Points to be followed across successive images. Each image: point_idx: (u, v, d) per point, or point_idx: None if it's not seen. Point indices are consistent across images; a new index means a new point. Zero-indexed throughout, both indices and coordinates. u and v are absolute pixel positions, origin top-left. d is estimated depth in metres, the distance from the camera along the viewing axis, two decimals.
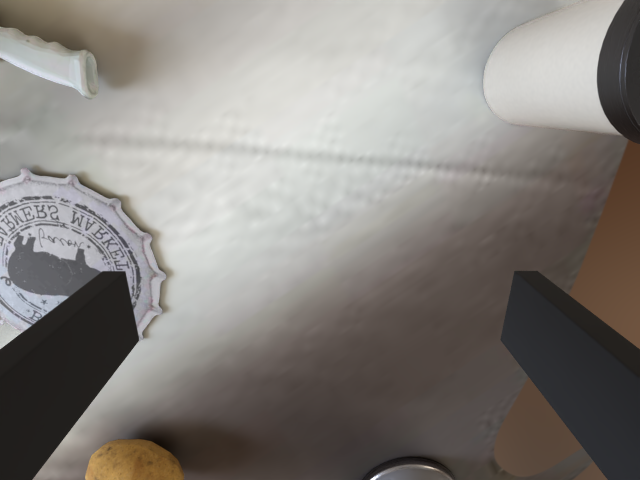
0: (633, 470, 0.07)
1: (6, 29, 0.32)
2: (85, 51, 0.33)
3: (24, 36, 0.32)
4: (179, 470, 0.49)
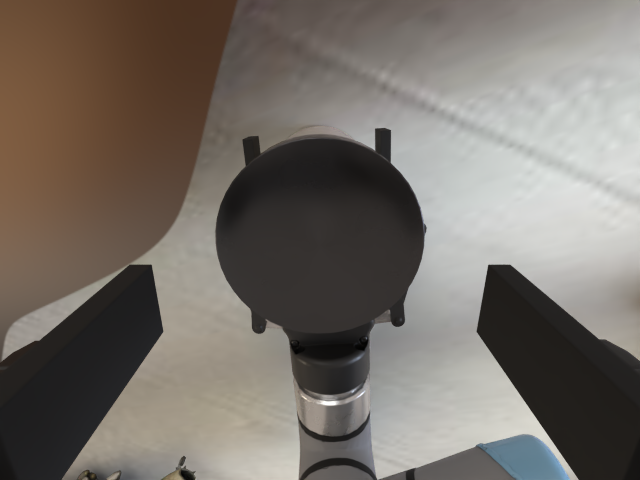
0: (585, 448, 0.08)
1: None
2: None
3: None
4: None
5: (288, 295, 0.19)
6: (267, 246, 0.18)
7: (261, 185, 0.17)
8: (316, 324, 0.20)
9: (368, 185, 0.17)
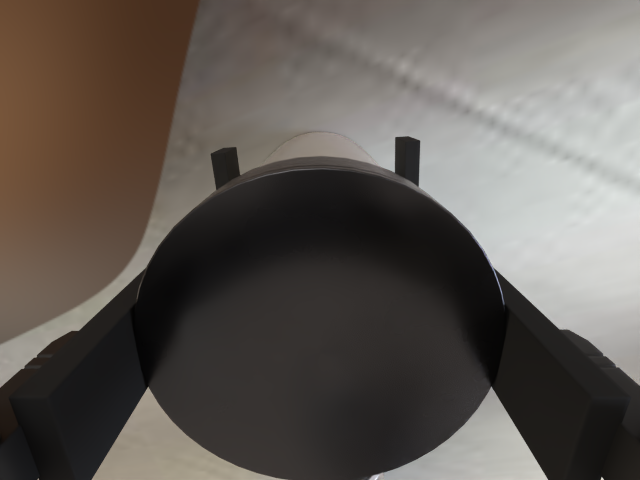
0: (542, 431, 0.08)
1: None
2: None
3: None
4: None
5: (266, 428, 0.11)
6: (227, 354, 0.10)
7: (211, 254, 0.09)
8: (314, 469, 0.12)
9: (409, 254, 0.09)
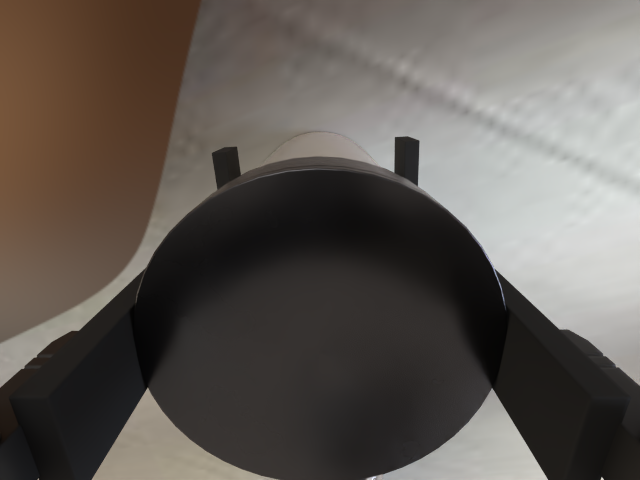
0: (542, 431, 0.08)
1: None
2: None
3: None
4: None
5: (436, 339, 0.10)
6: (376, 408, 0.11)
7: (301, 458, 0.12)
8: (464, 264, 0.09)
9: (186, 358, 0.10)
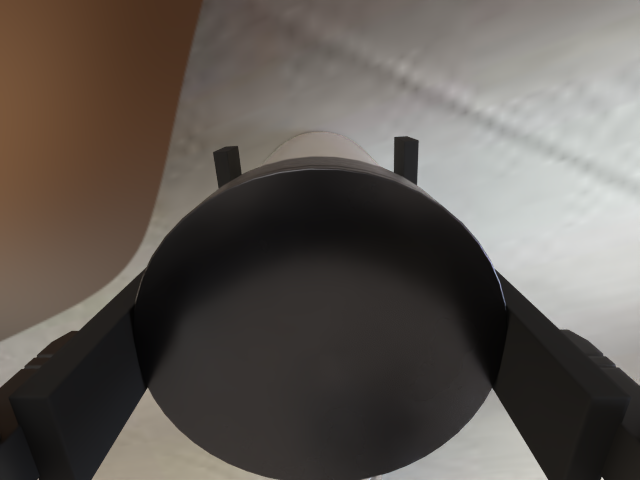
0: (542, 431, 0.08)
1: None
2: None
3: None
4: None
5: (226, 284, 0.09)
6: (338, 270, 0.09)
7: (454, 287, 0.09)
8: (155, 320, 0.10)
9: (401, 430, 0.11)
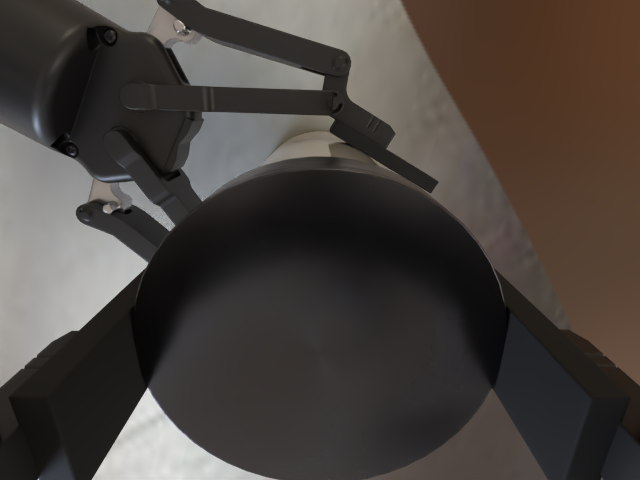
0: (542, 431, 0.08)
1: None
2: None
3: None
4: None
5: (226, 284, 0.09)
6: (338, 270, 0.09)
7: (454, 287, 0.09)
8: (155, 320, 0.10)
9: (401, 430, 0.11)
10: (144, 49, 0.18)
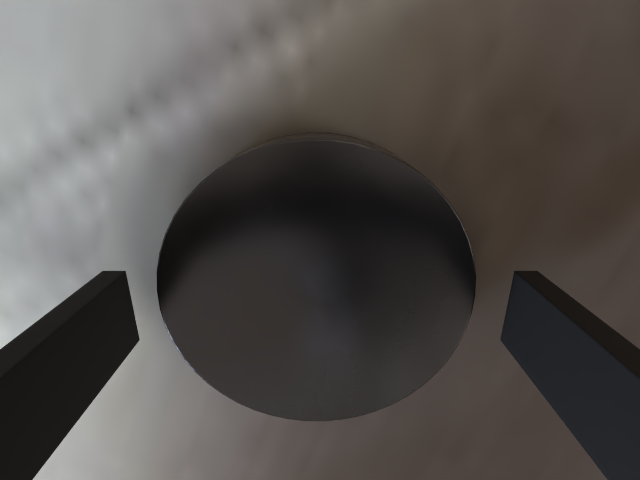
0: (633, 470, 0.07)
1: None
2: None
3: None
4: None
5: (237, 240, 0.11)
6: (331, 228, 0.11)
7: (429, 242, 0.11)
8: (175, 272, 0.11)
9: (387, 371, 0.13)
10: None
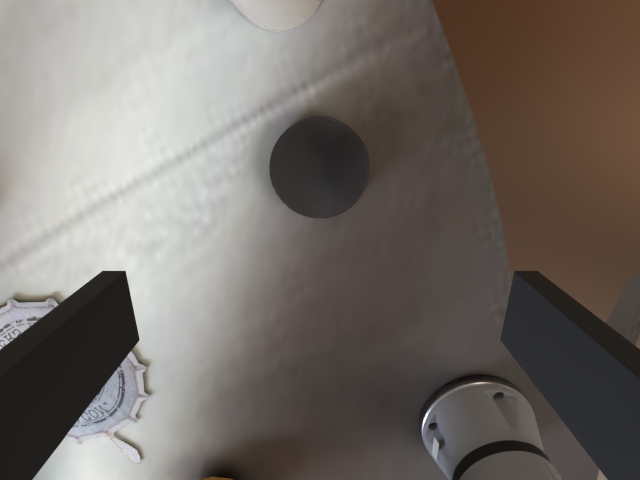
0: (633, 470, 0.07)
1: None
2: None
3: None
4: None
5: (295, 148, 0.37)
6: (324, 144, 0.37)
7: (353, 149, 0.37)
8: (276, 159, 0.37)
9: (343, 197, 0.39)
10: None
